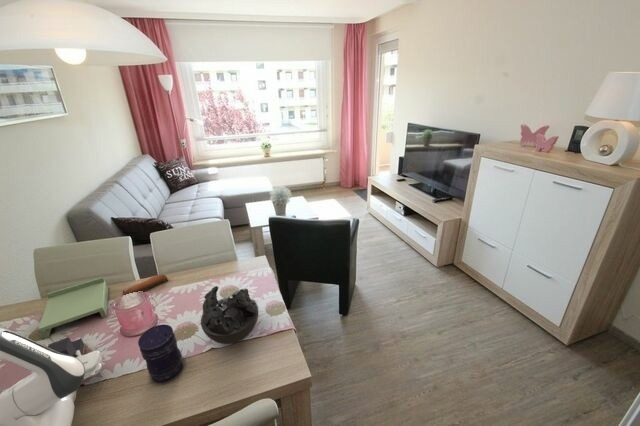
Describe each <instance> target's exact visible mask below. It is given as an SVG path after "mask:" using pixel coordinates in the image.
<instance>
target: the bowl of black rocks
mask: <svg viewBox="0 0 640 426" xmlns="http://www.w3.org/2000/svg"><path fill="white" fill-rule="evenodd" d="M218 291H219V286H217V285H215V286H213V287H212V288H211V290H209V291H208V292H207V293H205V295H204V299H205V300H204V301H203V304H202V316H201V318H200V326H201V329H202V331H203V333H204V335H205V336H206V337H208V338H209V340H211V341H213V342H215V343H217V344H220V345H231V344H236V343H239V342H240V341H243V340H244V339H245V338H247V337H248V336H250V334H251V333H252V332H253V330H254V329H255V326H256V325H257V322H258V319H259V306H258V303H257V302H256V300H255V299H253V298H252V297H250V293H249V289H248V288H246V287H243V288H240V289H239V290H237V291H235V292H233V293H232V294H231V295H230V296H226V297H223V298H220V299H218V295H217V293H218Z"/></svg>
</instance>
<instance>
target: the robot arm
mask: <svg viewBox="0 0 640 426" xmlns="http://www.w3.org/2000/svg"><path fill="white" fill-rule="evenodd" d="M101 353H102V352H100V351H99V350H93V351H90V352H87V353H84V355H83V356H82V355H81V353H80V351H79V350H78V351H75V352H73V356H71V355H67V354H63V353H60V352H57V351H55V350H53V349H50V348H48V346H47V345H44V344H42V343H40V342H38V341H35V340H33V339H31V338H29V337H27V336H25V335H23V334H20V333H18V332H16V331H13V330H12V329H9V328H6V327H3V326H0V361H6V362H10V363H12V364H15V365H16V366H19V367H22V368H24V369H26V370H29V371H31V372H32V373H30V374H29V375H27V376H26V377H24V378H22V379H20V380H19V381H18V382H16V383H15V384H13V385H11V386H10V387H9V388H6V389H5V390H4V391H3V392H1V393H0V426H72V424H73V419H74V414H75V401H76V398H77V394H78V393H77V391H78V390H79V389H80V387H81V386H82V384H83V382H85V381H86V380H89V379H92V378H94V377H95V376H96V375H97V374H98V373H99V372H101V371H102V366H103V365H102V364H103V363H102V362H103V355H102V354H101Z"/></svg>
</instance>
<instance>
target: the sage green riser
mask: <svg viewBox="0 0 640 426" xmlns="http://www.w3.org/2000/svg"><path fill="white" fill-rule="evenodd" d="M108 296H109V288H108V285H107V283H106V280H105V278H104V276H101V277H97V278H94V279H91V280H87V281H84V282H80V283H77V284H74V285H70V286H67V287H63V288H61V289H60V288H59V289H56V290H54V291H50V292H48V293H46V297H47V298H48V299H47V303H46V305H45V307H44V311H43V314H42V317H41V320H40V322H39V326H38V331H39V333H40V334H41V336H42V338H43V339H44V340H45V339H48V338H50V334H51V331H52V329H54V328H56V327H59V326H62V325H64V324H65V325H66V324H68V323H71V322H73V321H77V320H80V319H83V318H85V317H88V316H91V315H93V314H97V313H99V314H100V316H101V318H102V319H104V318H107V317H108V299H109V297H108Z"/></svg>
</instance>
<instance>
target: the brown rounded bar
mask: <svg viewBox="0 0 640 426" xmlns="http://www.w3.org/2000/svg"><path fill="white" fill-rule="evenodd" d="M168 280H169V279H168V278H167V275H165V274H157V275H151V276H150V277H146V278H143V279H141V280H138V281H137V282H135V283H133V284H132V285H129V286H128V287H126V288H124V289H123V290H122V295H123V296H124V295H126V294H129V293H133V292H138V291H141V292H143V291H147V290H148V289H150V288H152V287H155V286H157V285H159V284H162V283H165V282H166V281H168Z"/></svg>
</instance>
